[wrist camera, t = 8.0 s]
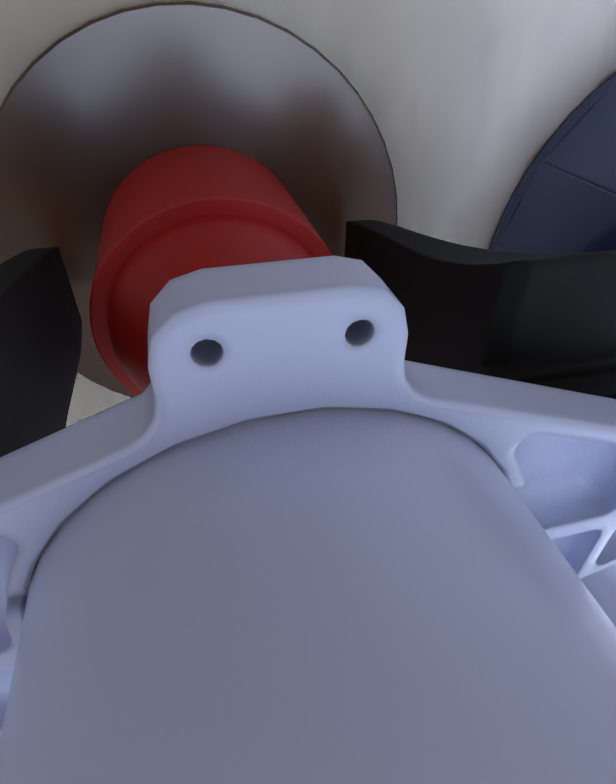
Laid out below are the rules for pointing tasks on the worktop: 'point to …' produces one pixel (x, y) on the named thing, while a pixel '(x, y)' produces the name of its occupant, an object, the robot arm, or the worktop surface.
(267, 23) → the coaster
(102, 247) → the red rubber stopper
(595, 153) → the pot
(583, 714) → the robot arm
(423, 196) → the worktop surface
